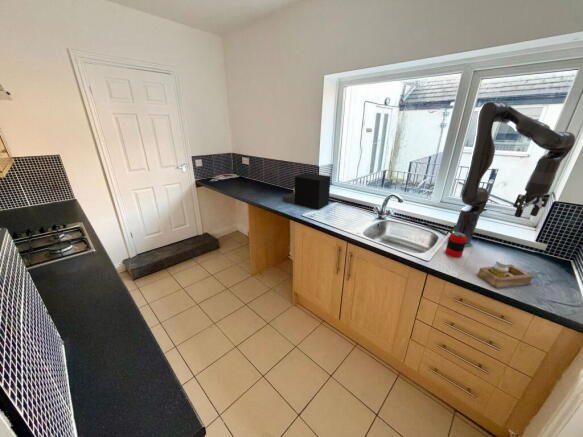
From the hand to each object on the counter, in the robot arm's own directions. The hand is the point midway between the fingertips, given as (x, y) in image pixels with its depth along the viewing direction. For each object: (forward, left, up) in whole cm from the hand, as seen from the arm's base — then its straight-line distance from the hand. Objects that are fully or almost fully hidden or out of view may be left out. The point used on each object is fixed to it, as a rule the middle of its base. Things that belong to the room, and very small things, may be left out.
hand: (525, 216), depth 110 cm
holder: (+9, -11, -27) cm, 30 cm away
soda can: (-14, -16, -27) cm, 35 cm away
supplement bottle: (+9, -15, -27) cm, 32 cm away
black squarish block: (-109, -75, -27) cm, 136 cm away
